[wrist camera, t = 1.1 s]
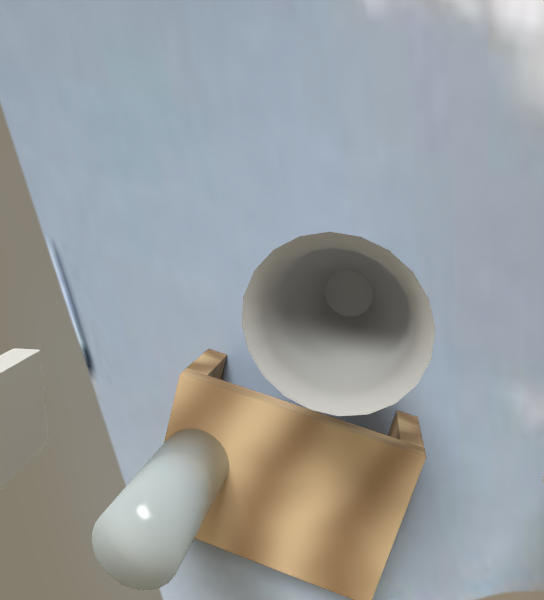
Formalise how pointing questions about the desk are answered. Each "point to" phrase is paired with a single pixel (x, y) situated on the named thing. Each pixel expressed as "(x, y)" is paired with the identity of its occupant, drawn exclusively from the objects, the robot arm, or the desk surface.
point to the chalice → (338, 324)
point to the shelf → (300, 481)
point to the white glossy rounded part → (161, 511)
